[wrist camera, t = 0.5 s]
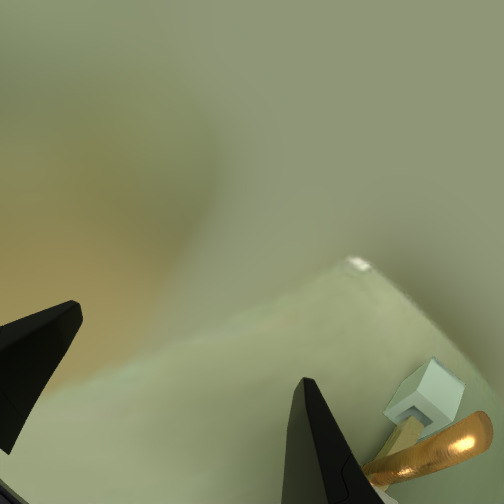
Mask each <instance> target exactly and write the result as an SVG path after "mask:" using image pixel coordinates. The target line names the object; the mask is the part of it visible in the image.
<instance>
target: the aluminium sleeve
mask: <svg viewBox="0 0 504 504" xmlns="http://www.w3.org/2000/svg"><path fill="white" fill-rule="evenodd" d="M370 483H371V482H370ZM371 485H372V486H373V488H374V489H375V491H376V492H377V493H378V495H379V496H380V498H381V499H382V500H383V502H384V503H385V504H398V503H399V502H397V501H396V500H394V499H393V498H392V497H390V496H389V495H387V494H386V493H384V492H383V491H382V490H380V489H379V488H377V487H376V486H375V485H373V484H372V483H371Z"/></svg>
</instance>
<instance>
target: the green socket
mask: <svg viewBox="0 0 504 504" xmlns="http://www.w3.org/2000/svg"><path fill="white" fill-rule="evenodd" d="M465 385H466V384H464V383H463V382H462V381H461V380H460V379H459V378H458V377H457V376H456V375H454V374H453V373H452V372H451V371H450V370H449V369H448V368H447V367H445V366H444V365H443V364H442V363H441V362H440V361H439V360H437V359H436V358H435V357H434V356H432V357H431V358H429V359H428V360H427V361H426V362H425V363H424V364H423V365H422V366H420V367H419V368H418V369H417V370H416V371H415V372H413V373H412V374H411V375H410V376H409V377H407V378H406V379H405V380H404V381H402V383H401V385H400V386H399V388H398V390H397V391H396V393H395V395H394V396H393V398H392V400H391V401H390V403H389V404H388V406H387V407H386V409H385V410H384V412H383V414H384V415H385V416H386V417H388V418H389V419H390V420H391V421H392V422H394V423H395V424H396V425H397V424H398V423H399V422H400V421H402V420H404V419H405V418H407V417H409V416H410V415H412V416H414V417H415V418H416V419H417V420H418V421H420V422H421V423H422V424H423V425H424V428H423V430H422V432H421V434H420V436H419V438H418V440H419V439H421V438H423V437H425V436H427V435H429V434H431V433H433V432H435V431H437V430H439V429H441V428H443V427H445V426H446V425H448V424H450V423H452V422H453V421H454V418H455V415H456V412H457V410H458V407H459V404H460V401H461V398H462V395H463V391H464V388H465Z"/></svg>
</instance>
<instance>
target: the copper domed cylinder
mask: <svg viewBox="0 0 504 504" xmlns="http://www.w3.org/2000/svg"><path fill="white" fill-rule="evenodd" d="M423 428H424V425H423V424H422V423H421V422H420V421H418V420H417V419H416V418H415V417H414V416H412V415H410V416H409V417H407V418H405V419H404V420H402V421H400V422H399V423H398V424H397V426H396V428H395V429H394V431H393V432H392V434H391V436H390V437H389V439H388V440H387V442H386V443H385V445H384V446H383V448H382V449H381V450H380V452H379V453H378V455H377V456H376V457H375V459H374V460H373V461H371V462H368V463H366V464H365V465H364V466H363V467H362V468H361V470H362V471H363V473H364V474H365V476H366V478H367V479H368V481H369V482H371V483H372V484H373V485H375V486H376V487H377V488H379V489H380V490H382V491H383V492H385V491H386V490H387V488H388V487H389V485H391V484H395V483H399V482H403V481H407V480H411V479H414V478H418V477H421V476H424V475H427V474H431V473H434V472H437V471H439V470H442V469H445V468H448V467H450V466H453V465H455V464H458V463H460V462H463V461H465V460H467V459H470V458H472V457H474V456H476V455H478V454H480V453H483V452H485V451H486V450H487V449H488V448H489V447H490V445H491V443H492V439H493V426H492V423H491V420H490V418H489V417H488V415H487V414H486V413H485V412H483V411H476V412H474V413H473V414H471V415H470V416H468V417H466V418H465V419H463V420H461V421H460V422H458V423H456V424H455V425H453V426H451V427H449V428H447V429H445V430H444V431H442V432H440V433H438V434H436V435H434V436H432V437H430V438H428V439H426V440H424V441H422V442H419V443H417V444H415V443H416V442H417V440H418V438H419V436H420V434H421V432H422V430H423Z"/></svg>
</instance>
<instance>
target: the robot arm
mask: <svg viewBox="0 0 504 504" xmlns="http://www.w3.org/2000/svg"><path fill="white" fill-rule="evenodd" d="M82 322H83V316H82V311H81V306H80V304H79V303H77V302H76V301H73V300H70V301H67V302H64V303H62V304H59V305H56V306H53V307H51V308H48V309H45V310H42V311H40V312H37V313H35V314H32V315H29V316H26V317H24V318H21V319H18V320H16V321H13V322H11V323H8V324H6V325H4V326H0V449H2V450H3V451H4V452H5V453H7V454H8V455H9V454H10V452H11V450H12V448H13V446H14V444H15V442H16V440H17V438H18V436H19V434H20V432H21V430H22V428H23V426H24V424H25V422H26V420H27V418H28V416H29V414H30V412H31V410H32V408H33V407H34V405H35V403H36V401H37V399H38V398H39V396H40V394H41V392H42V391H43V389H44V387H45V386H46V384H47V382H48V381H49V379H50V377H51V376H52V374H53V373H54V371H55V369H56V368H57V366H58V365H59V363H60V361H61V360H62V358H63V357H64V355H65V354H66V352H67V350H68V348H69V347H70V345H71V343H72V341H73V339H74V337H75V335H76V333H77V332H78V330H79V328H80V326H81V324H82ZM0 504H29V503H28V502H26V501H25V500H24V499H23V498H22V497H20V496H19V495H18V494H17V493H16V492H14V491H13V490H12V489H11V488H10V487H9V486H8V485H7V484H5V483H4V482H3V481H2V480H1V479H0ZM281 504H385V503H384V502H383V500H382V499H381V498H380V496H379V495H378V493H377V492H376V491H375V489H374V488H373V486H372V485H371V483H370V482H369V481H368V479H367V478H366V476H365V474H364V473H363V471H362V470H361V468H360V466H359V464H358V463H357V461H356V459H355V457H354V455H353V453H352V451H351V450H350V448H349V446H348V444H347V442H346V440H345V438H344V436H343V434H342V432H341V430H340V428H339V426H338V425H337V423H336V421H335V419H334V417H333V415H332V413H331V411H330V409H329V407H328V405H327V403H326V401H325V400H324V398H323V396H322V394H321V392H320V390H319V388H318V386H317V384H316V382H315V380H314V379H312V378H306V377H303V378H302V379H301V381H300V382H299V384H298V385H297V387H296V389H295V391H294V394H293V400H292V406H291V411H290V417H289V422H288V428H287V439H286V454H285V468H284V480H283V491H282V502H281Z"/></svg>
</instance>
